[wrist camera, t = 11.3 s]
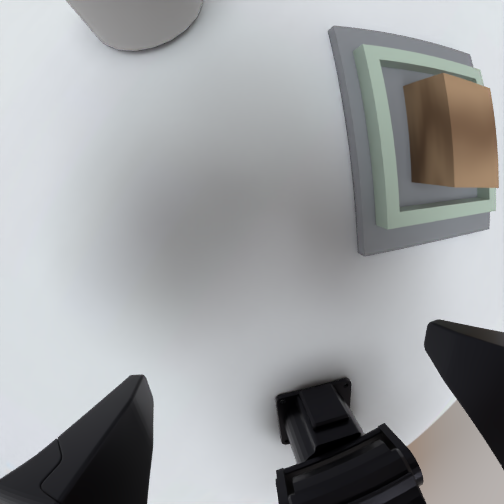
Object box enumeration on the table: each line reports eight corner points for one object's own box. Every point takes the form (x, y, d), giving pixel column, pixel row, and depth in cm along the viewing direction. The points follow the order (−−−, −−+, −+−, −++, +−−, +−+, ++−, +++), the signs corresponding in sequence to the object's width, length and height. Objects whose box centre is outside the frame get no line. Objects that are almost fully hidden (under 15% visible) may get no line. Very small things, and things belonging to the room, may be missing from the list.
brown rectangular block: (457, 182, 19) (498, 187, 15) (411, 182, 19) (454, 187, 15) (450, 96, 18) (489, 88, 13) (402, 86, 17) (443, 72, 13)
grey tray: (481, 226, 22) (500, 232, 20) (358, 252, 21) (375, 262, 18) (463, 56, 18) (481, 51, 15) (328, 31, 16) (342, 16, 14)
